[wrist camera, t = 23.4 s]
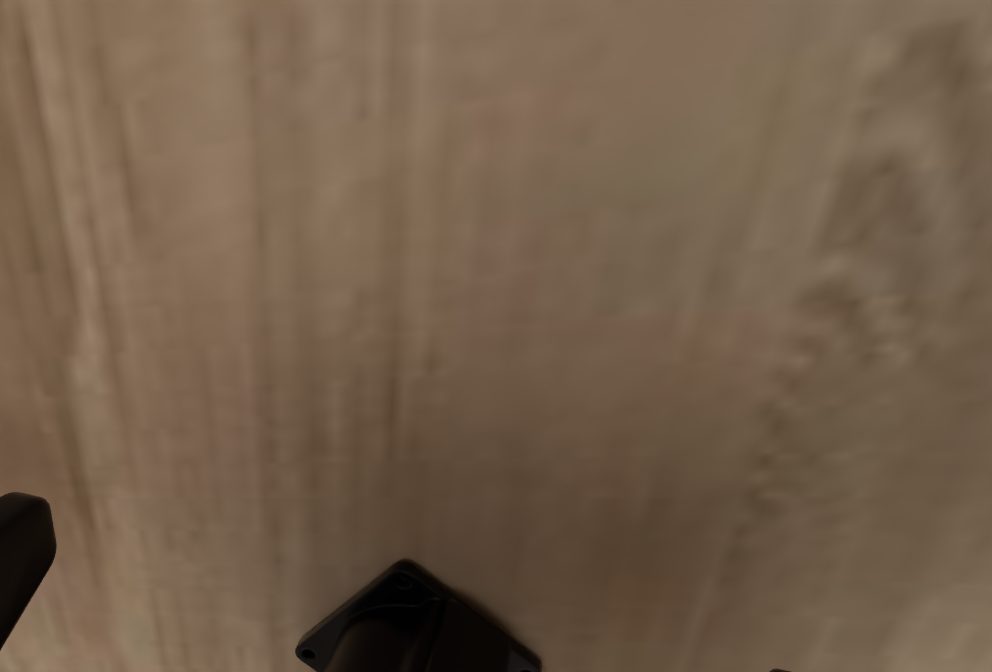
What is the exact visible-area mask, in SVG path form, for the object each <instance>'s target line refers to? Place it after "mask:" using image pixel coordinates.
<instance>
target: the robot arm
mask: <svg viewBox="0 0 992 672" xmlns="http://www.w3.org/2000/svg"><path fill="white" fill-rule="evenodd" d="M55 554H56V538H55V532H54V526H53V520H52V514H51V509H50V505H49V503H48V502H47V501H46V499H44V498H42V497H38V496H33V495H29V494H25V493H20V492H12V493H9V494H6V495H3V496H1V497H0V650H1V648H2V647H3V645H4V643H5V642H6V640H7V638H8V637H9V635H10V633H11V632H12V630H13V628H14V627H15V625H16V623H17V622H18V620H19V618H20V617H21V615H22V613H23V612H24V610H25V608H26V607H27V605H28V603H29V602H30V600H31V598H32V597H33V595H34V593H35V592H36V590H37V588H38V587H39V585H40V583H41V582H42V580H43V578H44V577H45V575H46V573H47V572H48V570H49V568H50V567H51V565H52V563H53V560H54V558H55ZM402 577H405V578H407V579H404V578H402ZM295 653H296V655H297V657H298V658H299V659H300V660H301V661H303V662H304V663H306V664H307V665H308V666H310V667H311V668H313V669H314V670H316V671H317V672H542V664H541V662H540V661H539V660H538V659H537V658H536V657H535V656H533V655H532V654H531V653H529V652H528V651H527V650H526V649H524V648H523V647H522V646H520V645H519V644H518V643H516V642H515V641H514V640H512V639H511V638H510V637H508V636H507V635H506V634H504V633H503V632H502V631H500V630H499V629H498V628H496V627H495V626H494V625H492V624H491V623H490V622H488V621H487V620H486V619H485V618H483V617H482V616H481V615H479V614H478V613H477V612H475V611H474V610H473V609H471V608H470V607H469V606H467V605H466V604H465V603H463V602H462V601H461V600H459V599H458V598H457V597H455V596H454V595H453V594H451V593H450V592H449V591H448V590H446V589H445V588H444V587H442V586H441V585H440V584H438V583H437V582H436V581H434V580H433V579H432V578H430V577H429V576H428V575H426V574H425V573H424V572H422V571H421V570H420V569H418V568H417V567H416V566H414V565H412V564H410V563H407V562H398V563H396V564H394V565H393V566H392V567H390V568H389V569H388V570H387V571H385V572H384V573H383V574H382V575H380V576H379V577H378V578H376V579H375V580H374V581H373V582H371V583H370V584H369V585H368V586H366V587H365V588H364V589H362V590H361V591H360V592H359V593H357V594H356V595H355V596H354V597H352V598H351V599H350V600H349V601H347V602H346V603H345V604H343V605H342V606H341V607H340V608H338V609H337V610H336V611H335V612H333V613H332V614H331V615H330V616H328V617H327V618H326V619H324V620H323V621H322V622H321V623H319V624H318V625H317V626H316V627H314V628H313V629H312V630H311V631H309V632H308V633H307V634H305V635H304V636H303V637H302V638H301V639H300V640H299V643H298V645H297V647H296V649H295ZM770 672H790V671H785V670H781V669H773V670H771V671H770Z"/></svg>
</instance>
